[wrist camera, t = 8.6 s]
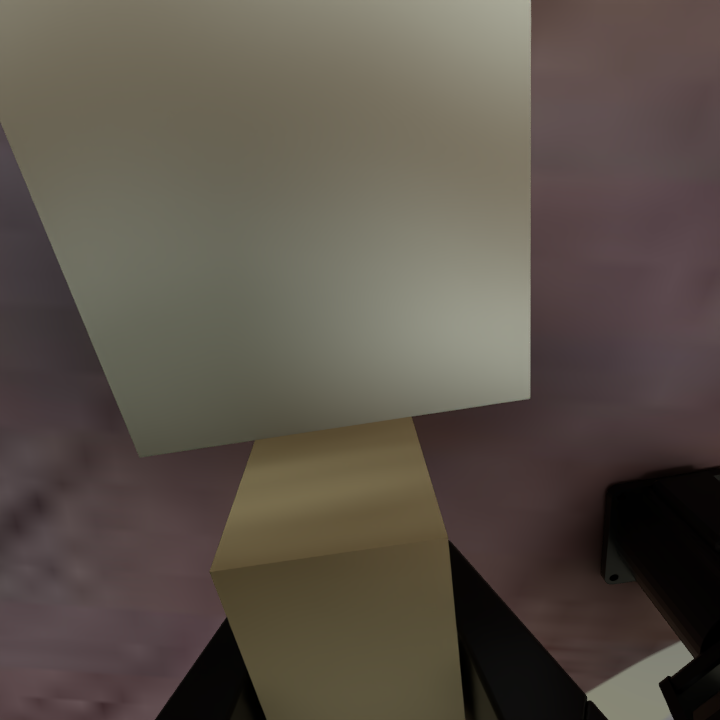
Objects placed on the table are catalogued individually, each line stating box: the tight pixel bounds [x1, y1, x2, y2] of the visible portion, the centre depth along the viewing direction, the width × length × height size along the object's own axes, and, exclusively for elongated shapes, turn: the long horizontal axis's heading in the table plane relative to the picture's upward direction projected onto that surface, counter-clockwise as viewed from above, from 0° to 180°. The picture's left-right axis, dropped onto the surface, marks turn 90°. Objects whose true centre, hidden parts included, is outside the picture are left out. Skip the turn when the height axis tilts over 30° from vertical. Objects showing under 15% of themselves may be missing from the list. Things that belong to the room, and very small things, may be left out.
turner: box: [0, 0, 531, 720], centre depth 7 cm, size 21×7×4 cm, turn 9°
